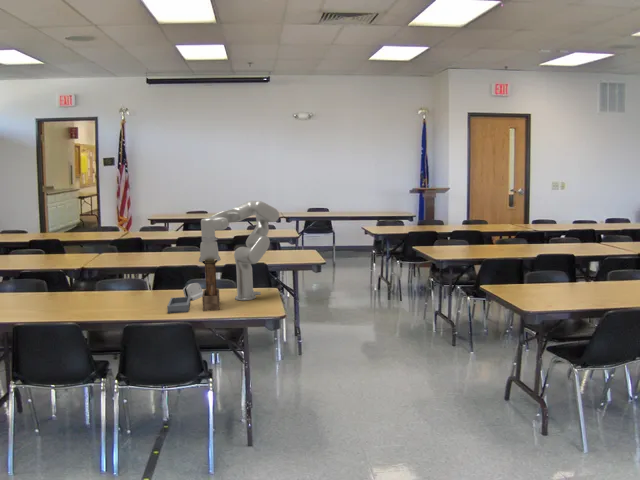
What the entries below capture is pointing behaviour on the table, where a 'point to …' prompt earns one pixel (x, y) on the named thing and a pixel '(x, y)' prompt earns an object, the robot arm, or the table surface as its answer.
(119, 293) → the table surface
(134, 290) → the table surface
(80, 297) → the table surface
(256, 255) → the robot arm
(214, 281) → the book
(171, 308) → the tray
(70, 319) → the table surface
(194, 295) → the white gray electronic device
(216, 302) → the frame
